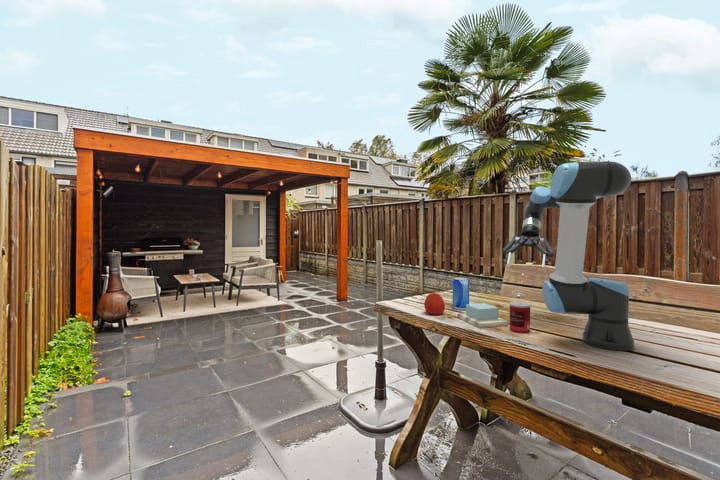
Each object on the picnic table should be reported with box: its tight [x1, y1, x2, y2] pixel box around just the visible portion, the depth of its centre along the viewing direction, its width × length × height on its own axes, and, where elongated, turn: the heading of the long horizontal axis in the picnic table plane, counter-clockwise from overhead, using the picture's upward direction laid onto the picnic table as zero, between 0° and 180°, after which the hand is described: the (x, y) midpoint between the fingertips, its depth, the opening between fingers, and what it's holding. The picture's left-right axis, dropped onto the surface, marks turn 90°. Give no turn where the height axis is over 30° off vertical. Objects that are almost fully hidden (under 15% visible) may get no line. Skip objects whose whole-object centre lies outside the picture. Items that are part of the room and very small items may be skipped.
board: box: [457, 312, 509, 329], centre depth 152 cm, size 18×14×2 cm
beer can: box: [452, 277, 470, 311], centre depth 177 cm, size 8×8×16 cm
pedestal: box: [465, 303, 500, 321], centre depth 152 cm, size 10×10×5 cm
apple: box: [423, 292, 446, 316], centre depth 167 cm, size 10×10×10 cm
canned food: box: [509, 301, 531, 334], centre depth 138 cm, size 8×8×11 cm
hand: (525, 267), depth 145 cm, fingers open, 13 cm apart
